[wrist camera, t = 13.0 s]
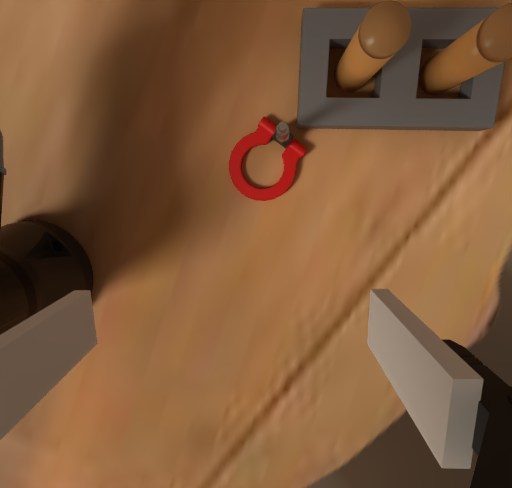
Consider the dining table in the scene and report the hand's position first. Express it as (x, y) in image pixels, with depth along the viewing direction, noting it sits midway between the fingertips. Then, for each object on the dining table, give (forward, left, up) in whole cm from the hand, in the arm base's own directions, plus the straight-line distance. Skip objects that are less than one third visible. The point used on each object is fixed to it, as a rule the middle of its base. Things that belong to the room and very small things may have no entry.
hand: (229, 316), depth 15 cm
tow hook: (+1, +8, -28) cm, 29 cm away
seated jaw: (+21, +18, -28) cm, 39 cm away
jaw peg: (+11, +19, -28) cm, 35 cm away
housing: (+16, +18, -28) cm, 37 cm away
